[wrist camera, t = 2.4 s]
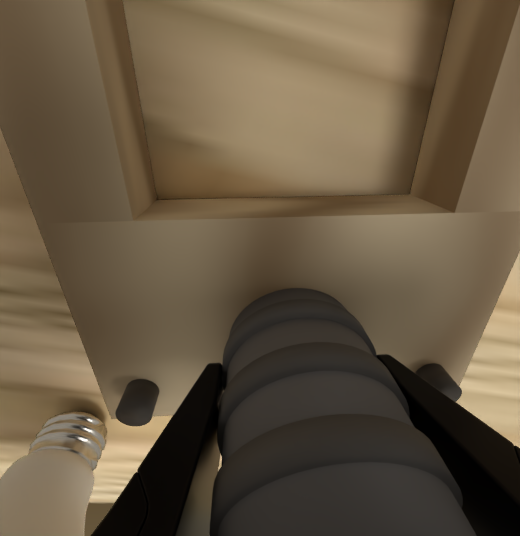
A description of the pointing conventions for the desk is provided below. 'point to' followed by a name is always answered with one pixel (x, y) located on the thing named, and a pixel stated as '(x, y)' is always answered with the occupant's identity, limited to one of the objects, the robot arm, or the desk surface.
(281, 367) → the stacked grey discs
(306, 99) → the desk surface
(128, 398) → the wooden handle frame
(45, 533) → the light bulb
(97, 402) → the desk surface
